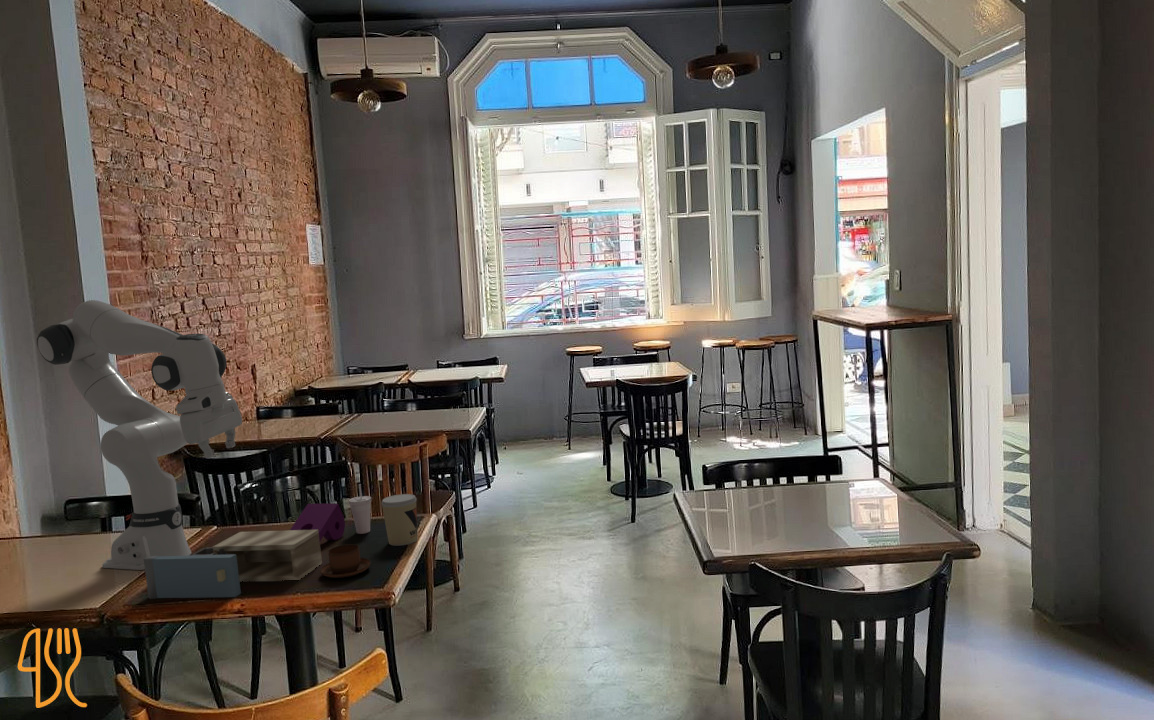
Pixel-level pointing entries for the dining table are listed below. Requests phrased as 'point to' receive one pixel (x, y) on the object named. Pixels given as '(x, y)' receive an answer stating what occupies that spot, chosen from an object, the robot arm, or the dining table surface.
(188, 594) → the door
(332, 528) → the mounting bracket
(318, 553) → the cabinet
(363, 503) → the smoothie
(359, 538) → the dining table surface
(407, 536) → the coffee cup
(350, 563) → the cup and saucer
